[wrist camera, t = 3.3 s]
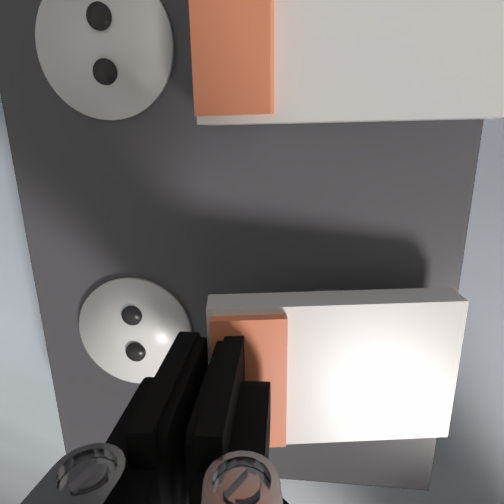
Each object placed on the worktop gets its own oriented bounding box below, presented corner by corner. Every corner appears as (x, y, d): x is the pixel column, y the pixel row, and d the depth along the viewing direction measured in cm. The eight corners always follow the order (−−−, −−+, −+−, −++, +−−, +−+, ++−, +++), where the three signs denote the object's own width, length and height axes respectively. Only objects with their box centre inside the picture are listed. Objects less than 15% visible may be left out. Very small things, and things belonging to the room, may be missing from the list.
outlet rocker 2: (449, 287, 11) (475, 305, 10) (431, 414, 13) (453, 444, 11) (207, 294, 11) (205, 314, 10) (214, 423, 12) (212, 455, 11)
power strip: (542, -697, 9) (719, -1296, 5) (389, 573, 20) (410, 672, 16) (-38, -565, 10) (-224, -953, 7) (121, 545, 21) (85, 630, 18)
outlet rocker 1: (533, -123, 8) (557, -170, 6) (495, 118, 9) (510, 116, 8) (206, -58, 10) (180, -84, 9) (213, 125, 11) (191, 124, 10)
